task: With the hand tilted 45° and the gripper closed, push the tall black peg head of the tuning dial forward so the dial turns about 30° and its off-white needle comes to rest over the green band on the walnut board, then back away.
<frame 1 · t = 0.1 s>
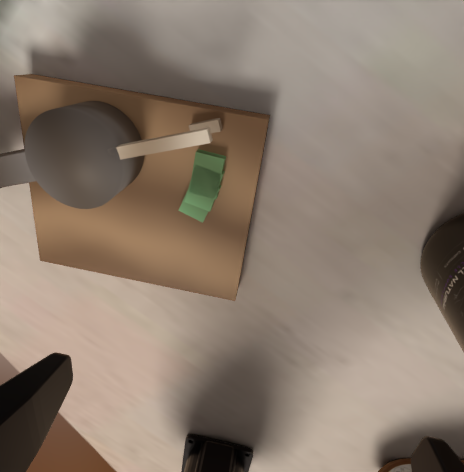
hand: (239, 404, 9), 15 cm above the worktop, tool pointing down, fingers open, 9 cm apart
tin: (450, 462, 31), on the worktop
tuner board: (145, 192, 23), on the worktop
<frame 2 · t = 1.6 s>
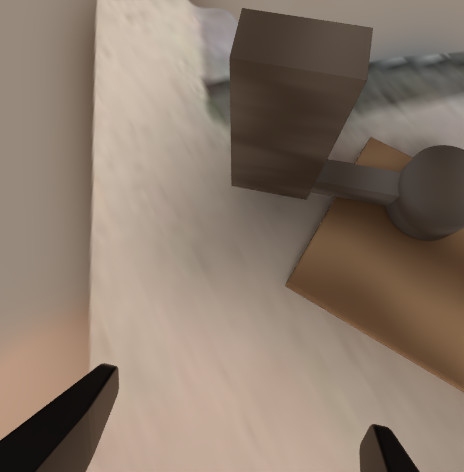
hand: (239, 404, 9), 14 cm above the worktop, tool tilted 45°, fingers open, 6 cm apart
tuning peg: (424, 153, 18), point 7 cm above the worktop, hinge at 0.0°
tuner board: (419, 263, 24), on the worktop
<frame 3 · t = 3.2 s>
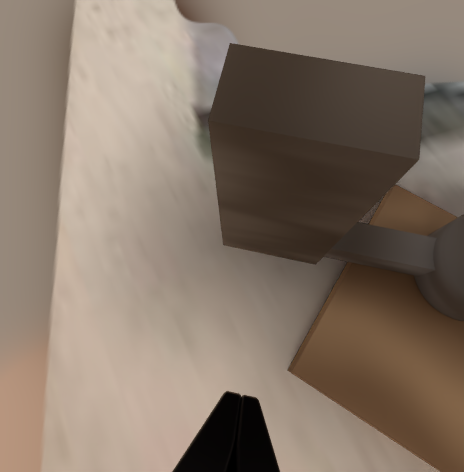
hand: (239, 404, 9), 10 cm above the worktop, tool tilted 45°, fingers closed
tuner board: (455, 345, 19), on the worktop
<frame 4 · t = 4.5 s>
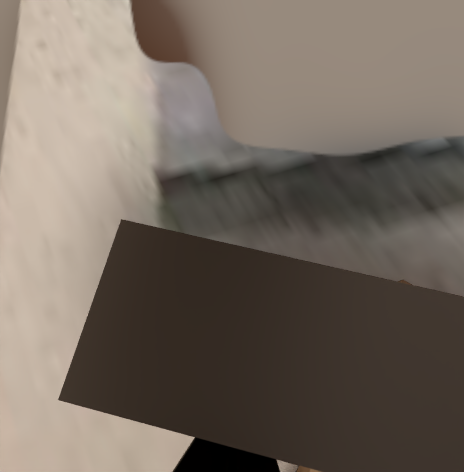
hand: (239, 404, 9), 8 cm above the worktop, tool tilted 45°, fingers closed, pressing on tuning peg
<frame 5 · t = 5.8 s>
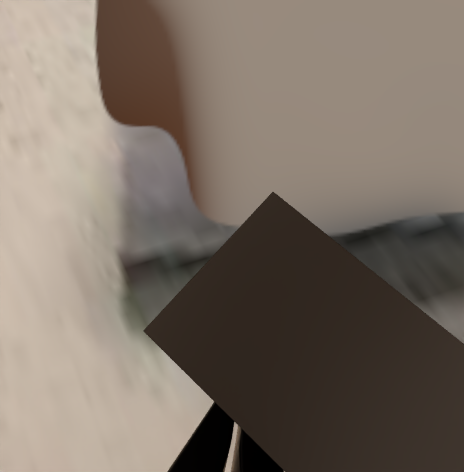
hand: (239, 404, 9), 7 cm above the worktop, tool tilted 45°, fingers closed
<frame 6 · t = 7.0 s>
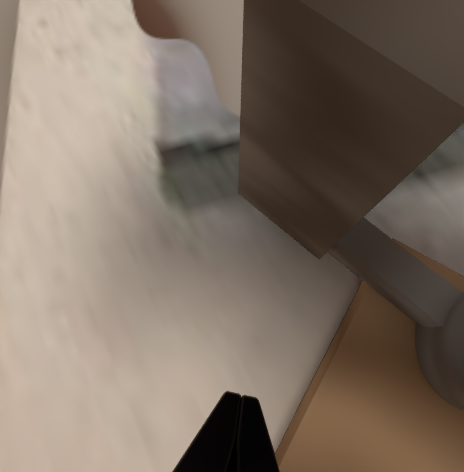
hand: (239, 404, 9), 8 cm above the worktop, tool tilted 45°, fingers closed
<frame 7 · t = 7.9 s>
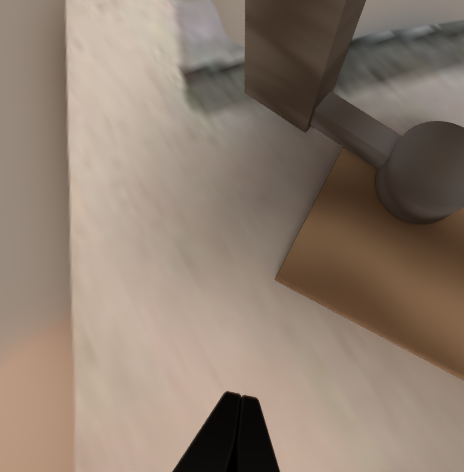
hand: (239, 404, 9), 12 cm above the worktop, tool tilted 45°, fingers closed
tuning peg: (420, 105, 17), point 7 cm above the worktop, hinge at 30.3°
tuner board: (416, 249, 22), on the worktop
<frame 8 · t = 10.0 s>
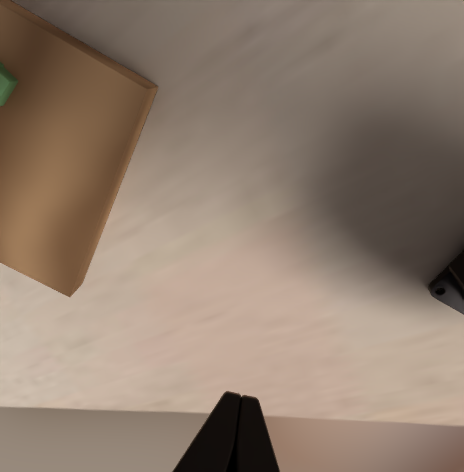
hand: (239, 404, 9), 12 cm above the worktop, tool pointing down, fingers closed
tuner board: (17, 149, 20), on the worktop
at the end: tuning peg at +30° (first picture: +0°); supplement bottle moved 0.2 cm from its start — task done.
